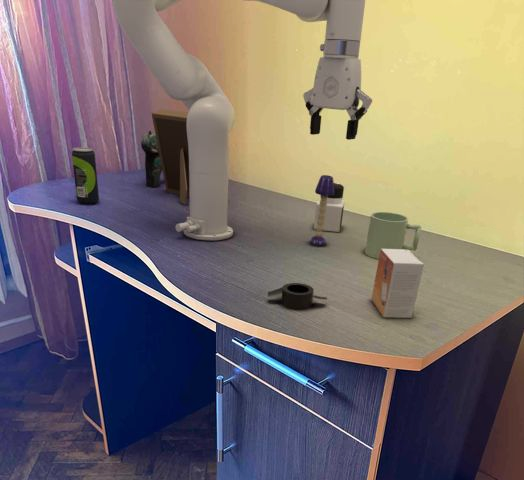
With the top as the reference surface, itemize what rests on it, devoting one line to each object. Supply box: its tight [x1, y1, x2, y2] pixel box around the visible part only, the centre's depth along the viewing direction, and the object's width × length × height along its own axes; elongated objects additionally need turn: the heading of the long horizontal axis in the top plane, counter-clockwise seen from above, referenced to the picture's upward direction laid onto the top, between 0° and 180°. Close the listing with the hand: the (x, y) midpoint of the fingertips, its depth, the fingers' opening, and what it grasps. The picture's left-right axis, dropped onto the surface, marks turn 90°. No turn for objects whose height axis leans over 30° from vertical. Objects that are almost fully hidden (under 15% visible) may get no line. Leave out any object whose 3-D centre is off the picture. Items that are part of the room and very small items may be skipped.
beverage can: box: [71, 147, 100, 206], centre depth 149 cm, size 6×6×15 cm
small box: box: [370, 249, 425, 319], centre depth 94 cm, size 8×6×10 cm
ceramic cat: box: [140, 130, 163, 188], centre depth 178 cm, size 20×6×20 cm, turn 147°
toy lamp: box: [309, 174, 335, 248], centre depth 126 cm, size 5×5×17 cm
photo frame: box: [151, 108, 190, 206], centre depth 159 cm, size 15×22×25 cm
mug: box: [364, 211, 422, 260], centre depth 124 cm, size 12×9×9 cm
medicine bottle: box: [313, 182, 345, 233], centre depth 141 cm, size 7×7×12 cm
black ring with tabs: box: [267, 282, 328, 311], centre depth 96 cm, size 8×10×3 cm
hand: (332, 136), depth 119 cm, fingers open, 9 cm apart
